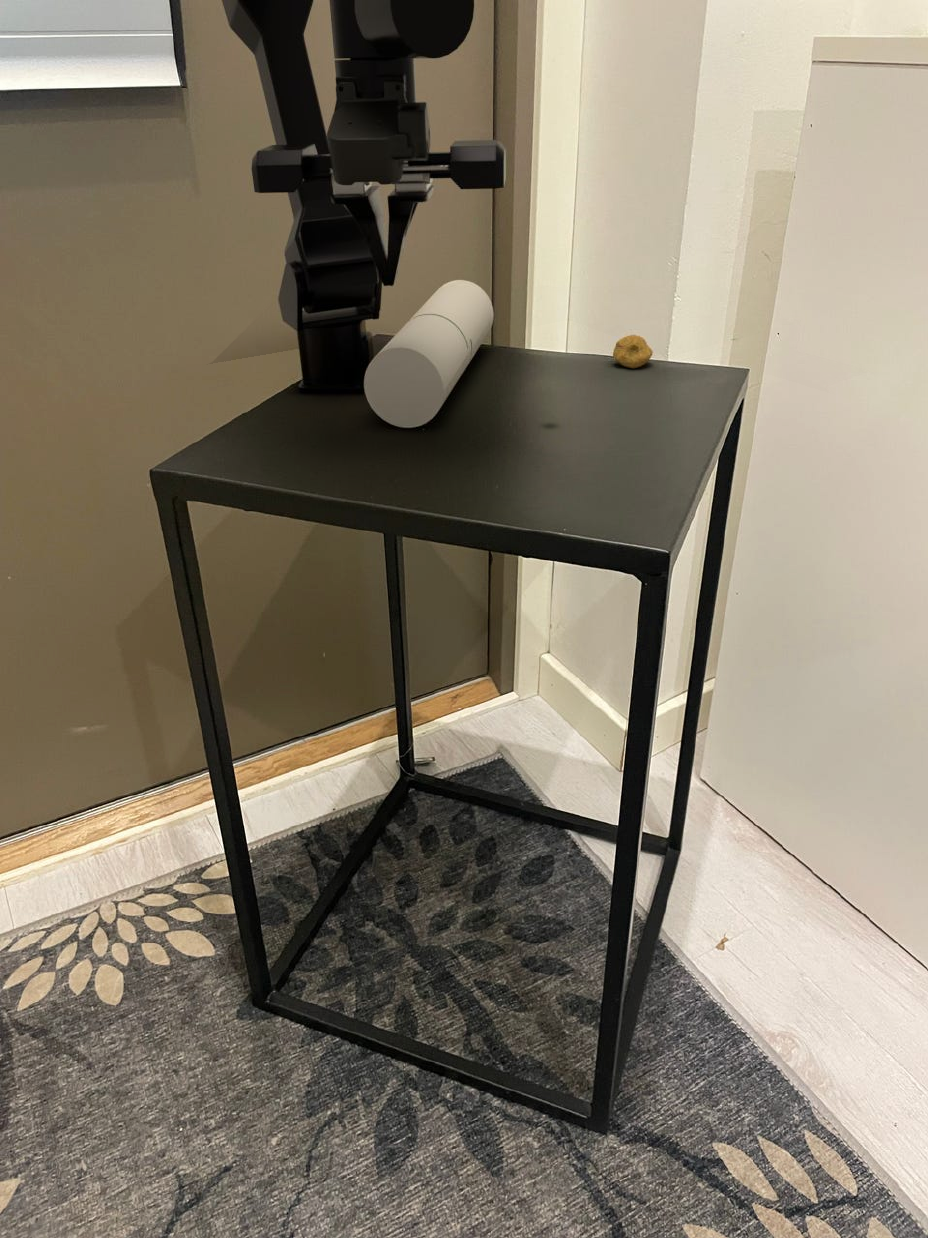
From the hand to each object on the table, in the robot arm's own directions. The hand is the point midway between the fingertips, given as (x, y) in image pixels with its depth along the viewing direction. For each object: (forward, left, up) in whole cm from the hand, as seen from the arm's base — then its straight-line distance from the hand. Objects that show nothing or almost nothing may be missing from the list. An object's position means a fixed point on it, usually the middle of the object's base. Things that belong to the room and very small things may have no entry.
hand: (389, 284), depth 74 cm
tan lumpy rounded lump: (+22, +19, -13) cm, 32 cm away
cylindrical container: (0, +1, -9) cm, 9 cm away
